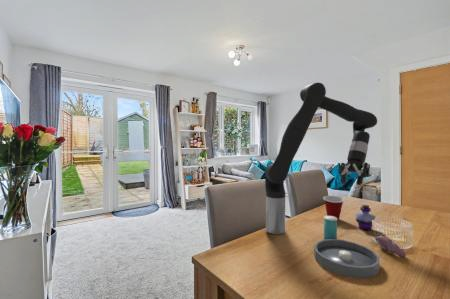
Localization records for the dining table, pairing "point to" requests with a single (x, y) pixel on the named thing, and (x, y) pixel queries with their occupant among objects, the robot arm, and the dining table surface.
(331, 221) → the bead jar
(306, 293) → the dining table surface
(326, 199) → the plastic cup
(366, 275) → the groove tray
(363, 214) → the potion bottle
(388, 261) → the dining table surface
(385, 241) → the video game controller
